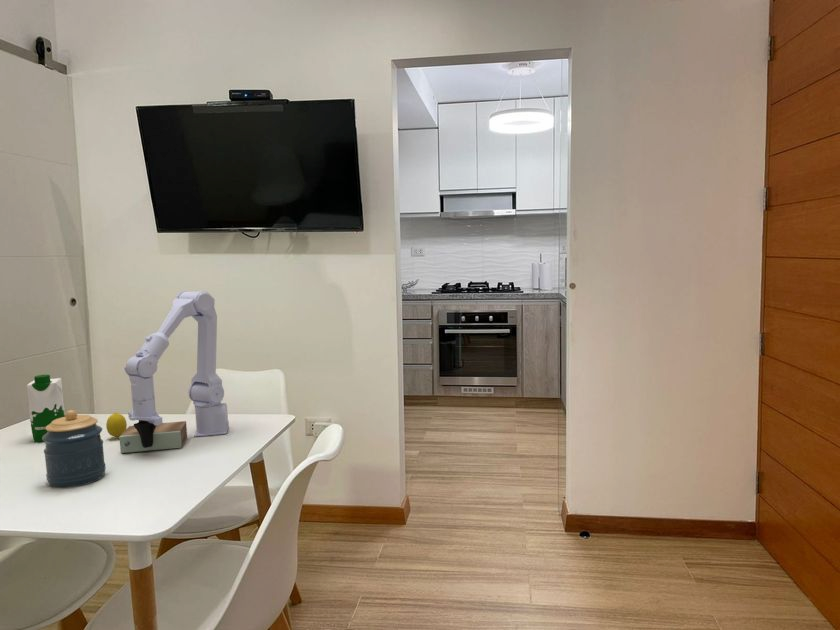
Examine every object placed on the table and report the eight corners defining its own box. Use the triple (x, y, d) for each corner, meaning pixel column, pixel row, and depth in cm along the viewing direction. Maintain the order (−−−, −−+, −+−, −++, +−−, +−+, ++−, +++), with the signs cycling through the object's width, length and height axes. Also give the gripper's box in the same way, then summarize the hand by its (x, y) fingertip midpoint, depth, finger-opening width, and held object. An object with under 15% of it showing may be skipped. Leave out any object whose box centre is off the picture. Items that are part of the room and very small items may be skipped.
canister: (112, 478, 151) (106, 409, 149) (52, 493, 142) (45, 420, 140) (99, 465, 161) (92, 400, 159) (42, 479, 152) (35, 410, 150)
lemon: (131, 435, 187) (129, 410, 186) (120, 441, 182) (118, 415, 181) (114, 435, 188) (112, 410, 187) (103, 441, 182) (101, 415, 181)
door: (181, 446, 173) (180, 430, 173) (180, 448, 171) (179, 432, 171) (121, 451, 170) (120, 435, 170) (119, 454, 168) (118, 438, 168)
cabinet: (187, 437, 183) (186, 421, 183) (181, 447, 174) (180, 430, 173) (130, 442, 180) (129, 426, 179) (121, 453, 170) (120, 435, 170)
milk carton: (29, 444, 181) (22, 378, 179) (38, 435, 190) (31, 373, 188) (62, 440, 184) (56, 376, 182) (69, 432, 193) (63, 370, 190)
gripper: (116, 399, 169) (120, 446, 170) (143, 405, 160) (147, 455, 161) (140, 393, 174) (144, 439, 176) (168, 399, 166) (171, 447, 167)
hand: (147, 446), depth 169 cm, fingers closed, pressing on door
